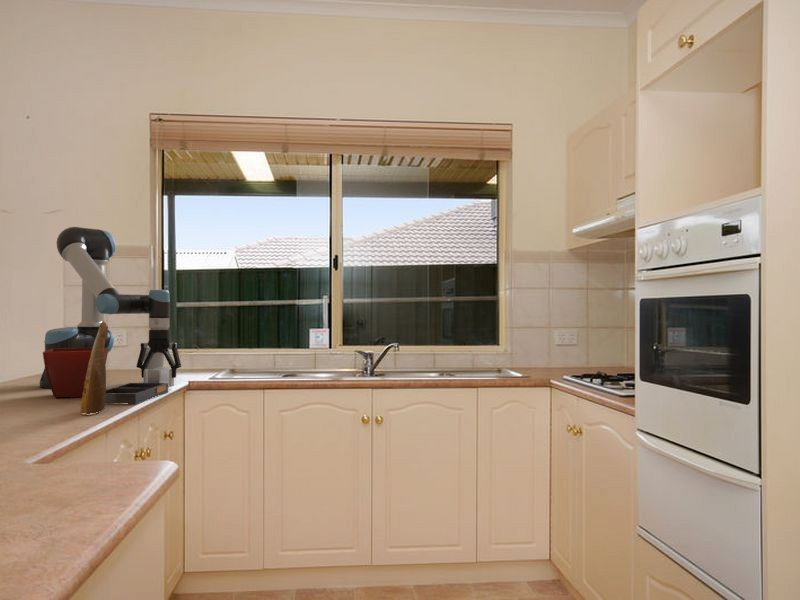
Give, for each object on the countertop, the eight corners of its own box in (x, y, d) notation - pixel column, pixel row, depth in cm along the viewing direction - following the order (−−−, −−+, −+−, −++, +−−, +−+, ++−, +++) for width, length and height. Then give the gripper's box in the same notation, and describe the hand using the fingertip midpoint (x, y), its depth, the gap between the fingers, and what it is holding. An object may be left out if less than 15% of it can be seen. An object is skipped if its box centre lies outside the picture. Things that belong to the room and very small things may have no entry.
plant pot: (51, 393, 228) (51, 347, 228) (108, 390, 235) (108, 346, 235) (41, 400, 210) (41, 351, 210) (103, 398, 217) (103, 350, 217)
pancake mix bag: (113, 406, 201) (113, 320, 201) (101, 416, 182) (102, 322, 182) (90, 406, 199) (91, 320, 199) (76, 417, 180) (77, 322, 181)
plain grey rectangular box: (147, 390, 236) (147, 370, 236) (158, 387, 246) (158, 367, 246) (159, 390, 236) (159, 370, 236) (169, 387, 246) (169, 367, 246)
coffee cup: (136, 382, 258) (136, 347, 258) (154, 380, 266) (155, 345, 266) (152, 384, 253) (152, 348, 254) (170, 381, 262) (170, 346, 262)
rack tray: (92, 404, 204) (92, 393, 204) (129, 392, 232) (129, 382, 232) (136, 404, 204) (136, 393, 204) (169, 392, 232) (169, 383, 232)
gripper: (126, 329, 237) (126, 387, 237) (183, 329, 237) (183, 387, 237) (135, 328, 245) (135, 384, 245) (190, 328, 245) (190, 385, 244)
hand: (158, 386), depth 241 cm, fingers open, 9 cm apart
